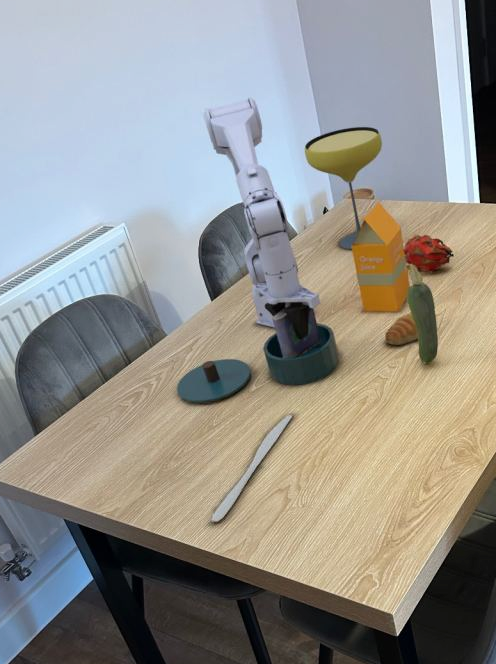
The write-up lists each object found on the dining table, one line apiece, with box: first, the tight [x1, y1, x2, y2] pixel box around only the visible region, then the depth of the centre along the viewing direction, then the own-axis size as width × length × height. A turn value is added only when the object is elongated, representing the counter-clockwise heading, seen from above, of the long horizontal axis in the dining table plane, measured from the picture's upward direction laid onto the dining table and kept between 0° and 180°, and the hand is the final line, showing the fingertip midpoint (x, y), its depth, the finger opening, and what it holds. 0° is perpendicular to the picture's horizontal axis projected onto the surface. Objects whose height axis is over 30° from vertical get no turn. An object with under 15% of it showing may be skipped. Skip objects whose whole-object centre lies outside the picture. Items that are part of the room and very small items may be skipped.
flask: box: [272, 302, 321, 358], centre depth 140 cm, size 9×3×11 cm, turn 136°
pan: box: [262, 322, 340, 386], centre depth 143 cm, size 13×13×6 cm
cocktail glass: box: [304, 126, 383, 250], centre depth 183 cm, size 18×18×25 cm
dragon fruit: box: [404, 234, 455, 274], centre depth 167 cm, size 8×8×12 cm
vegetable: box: [404, 263, 439, 366], centre depth 130 cm, size 4×4×20 cm
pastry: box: [384, 311, 418, 346], centre depth 145 cm, size 9×7×4 cm
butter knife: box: [211, 414, 293, 523], centre depth 122 cm, size 1×27×3 cm
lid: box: [176, 358, 252, 404], centre depth 144 cm, size 14×14×4 cm
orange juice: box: [351, 201, 411, 313], centre depth 154 cm, size 8×9×20 cm
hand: (296, 335), depth 141 cm, fingers closed on flask, 3 cm apart
